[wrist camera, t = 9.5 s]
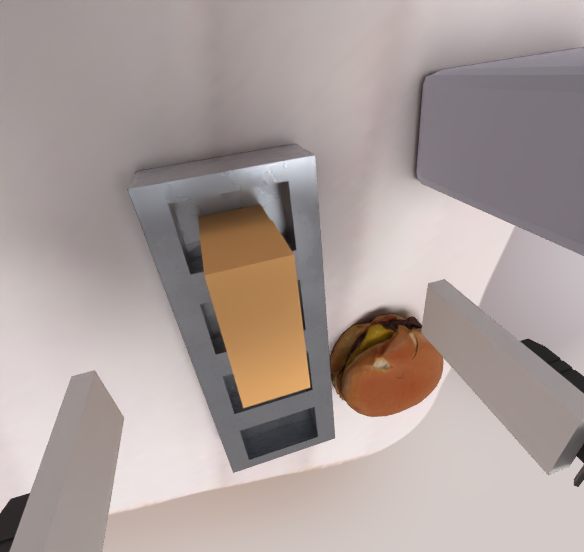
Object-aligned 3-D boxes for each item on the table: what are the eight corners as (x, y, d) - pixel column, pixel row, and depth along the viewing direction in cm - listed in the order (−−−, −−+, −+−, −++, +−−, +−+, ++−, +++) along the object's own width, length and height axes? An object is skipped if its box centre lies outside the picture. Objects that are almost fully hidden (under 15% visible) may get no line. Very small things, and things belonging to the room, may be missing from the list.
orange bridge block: (196, 214, 19) (204, 275, 13) (260, 201, 19) (293, 254, 14) (227, 324, 23) (243, 408, 17) (278, 311, 24) (310, 387, 18)
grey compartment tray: (135, 171, 18) (127, 189, 15) (295, 143, 20) (315, 155, 17) (228, 435, 31) (233, 472, 28) (321, 405, 33) (335, 438, 30)
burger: (380, 396, 35) (405, 436, 31) (307, 378, 31) (326, 422, 27) (442, 322, 32) (478, 356, 28) (371, 290, 28) (402, 325, 24)
